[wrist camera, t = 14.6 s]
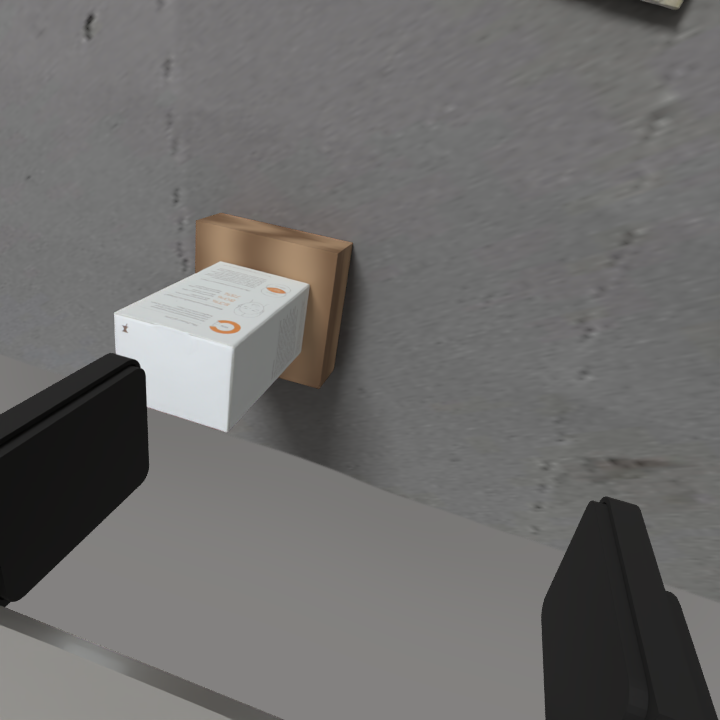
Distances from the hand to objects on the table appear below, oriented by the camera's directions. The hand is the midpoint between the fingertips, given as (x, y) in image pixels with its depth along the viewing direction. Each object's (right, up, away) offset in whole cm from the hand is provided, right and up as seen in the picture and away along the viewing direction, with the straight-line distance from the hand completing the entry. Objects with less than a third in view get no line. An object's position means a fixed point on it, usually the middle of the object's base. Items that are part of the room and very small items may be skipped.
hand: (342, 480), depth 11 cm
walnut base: (-7, +8, +36) cm, 38 cm away
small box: (-8, +7, +33) cm, 34 cm away
